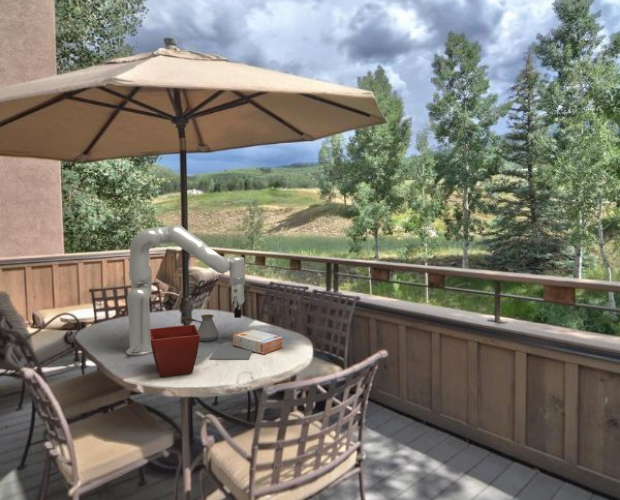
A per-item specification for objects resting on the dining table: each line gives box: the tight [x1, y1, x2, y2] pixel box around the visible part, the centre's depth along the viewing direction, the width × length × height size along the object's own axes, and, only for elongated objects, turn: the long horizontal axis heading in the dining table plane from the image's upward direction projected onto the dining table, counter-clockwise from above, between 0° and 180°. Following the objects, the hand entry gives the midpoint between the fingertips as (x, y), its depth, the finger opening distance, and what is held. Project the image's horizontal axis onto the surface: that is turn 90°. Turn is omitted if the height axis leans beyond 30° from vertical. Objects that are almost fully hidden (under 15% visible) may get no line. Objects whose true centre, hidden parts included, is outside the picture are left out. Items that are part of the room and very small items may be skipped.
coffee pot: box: [179, 314, 219, 343], centre depth 227 cm, size 21×12×15 cm, turn 136°
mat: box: [208, 343, 254, 361], centre depth 211 cm, size 22×18×1 cm
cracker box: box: [232, 328, 283, 355], centre depth 217 cm, size 14×6×21 cm
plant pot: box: [150, 324, 200, 378], centre depth 185 cm, size 19×19×17 cm
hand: (237, 317), depth 221 cm, fingers closed
